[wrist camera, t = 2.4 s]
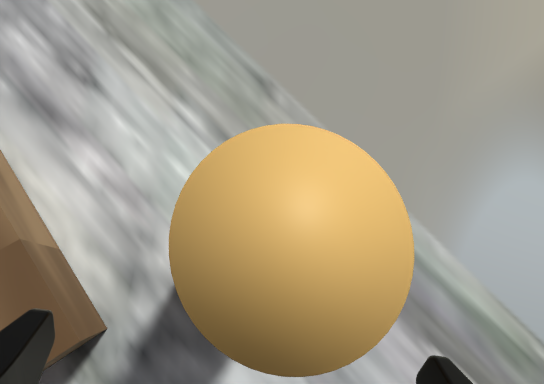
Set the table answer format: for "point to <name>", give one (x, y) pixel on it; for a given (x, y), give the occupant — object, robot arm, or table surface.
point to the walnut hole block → (39, 272)
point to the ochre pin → (291, 250)
